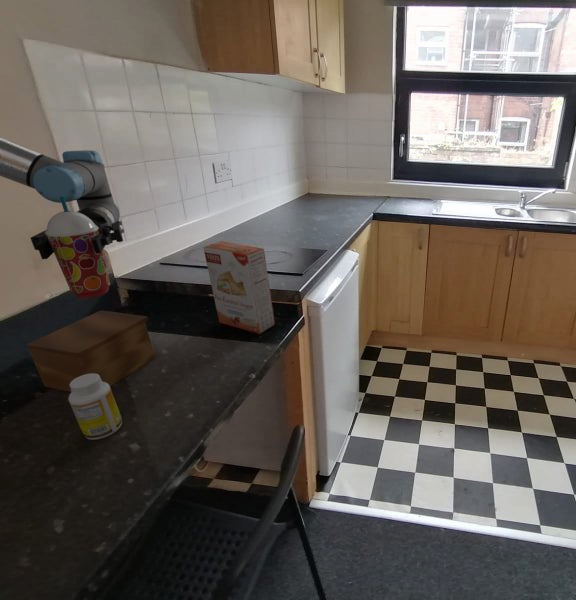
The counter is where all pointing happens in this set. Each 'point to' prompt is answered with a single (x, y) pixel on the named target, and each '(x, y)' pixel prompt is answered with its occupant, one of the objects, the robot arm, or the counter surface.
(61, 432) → the counter surface
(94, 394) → the supplement bottle
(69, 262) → the smoothie
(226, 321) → the cracker box
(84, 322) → the lid
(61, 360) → the chest
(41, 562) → the counter surface
